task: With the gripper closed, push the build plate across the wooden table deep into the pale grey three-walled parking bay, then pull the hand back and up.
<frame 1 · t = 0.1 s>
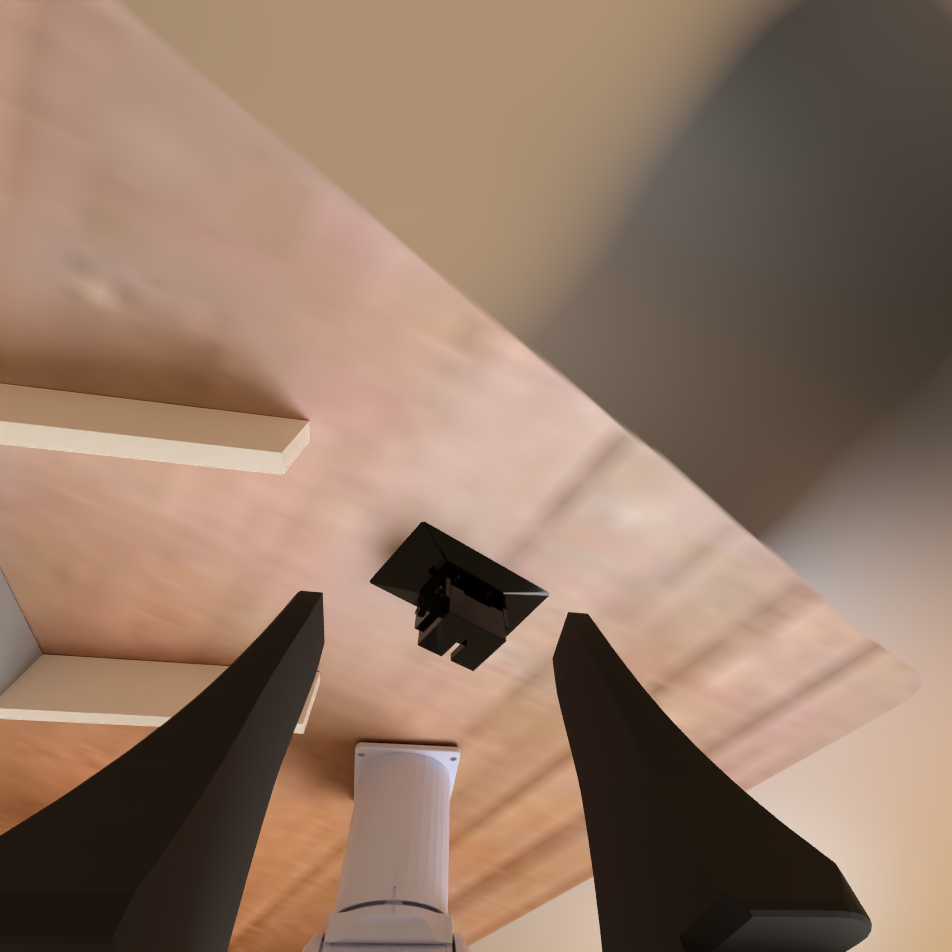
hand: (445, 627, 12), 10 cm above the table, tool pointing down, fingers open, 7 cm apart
parking bay: (158, 561, 23), on the table
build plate: (461, 579, 26), on the table
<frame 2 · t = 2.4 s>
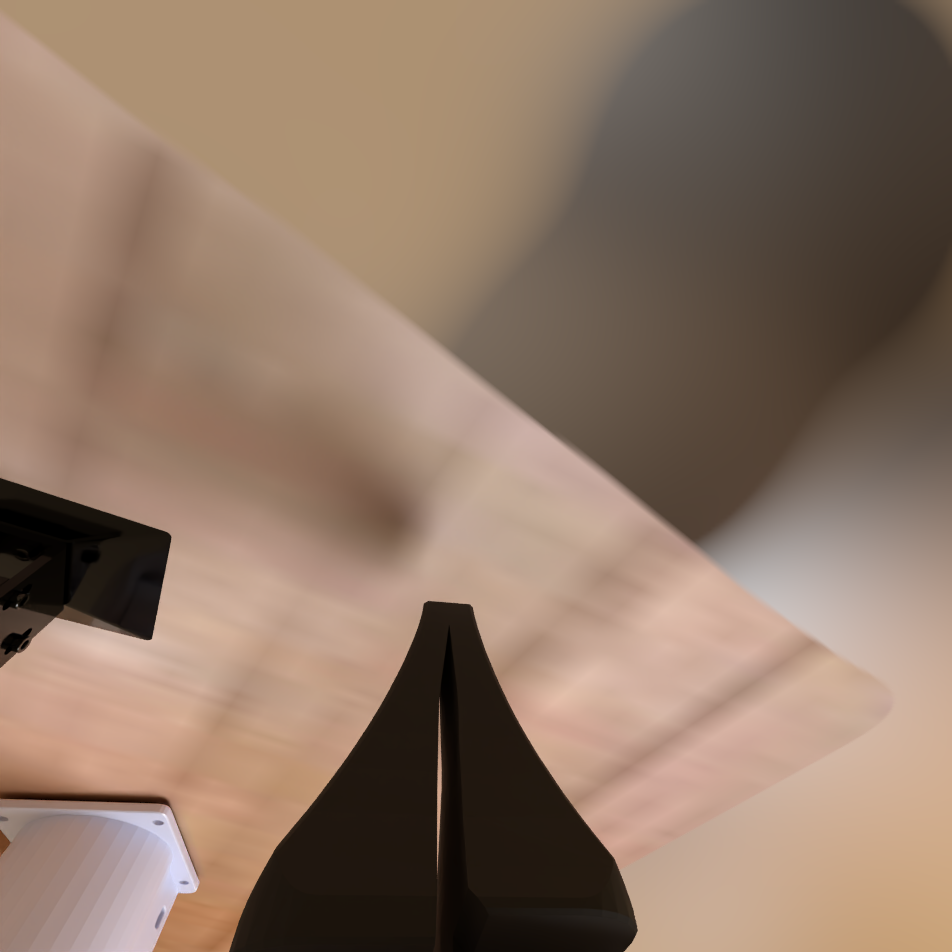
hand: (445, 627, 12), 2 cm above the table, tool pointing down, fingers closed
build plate: (26, 534, 14), on the table
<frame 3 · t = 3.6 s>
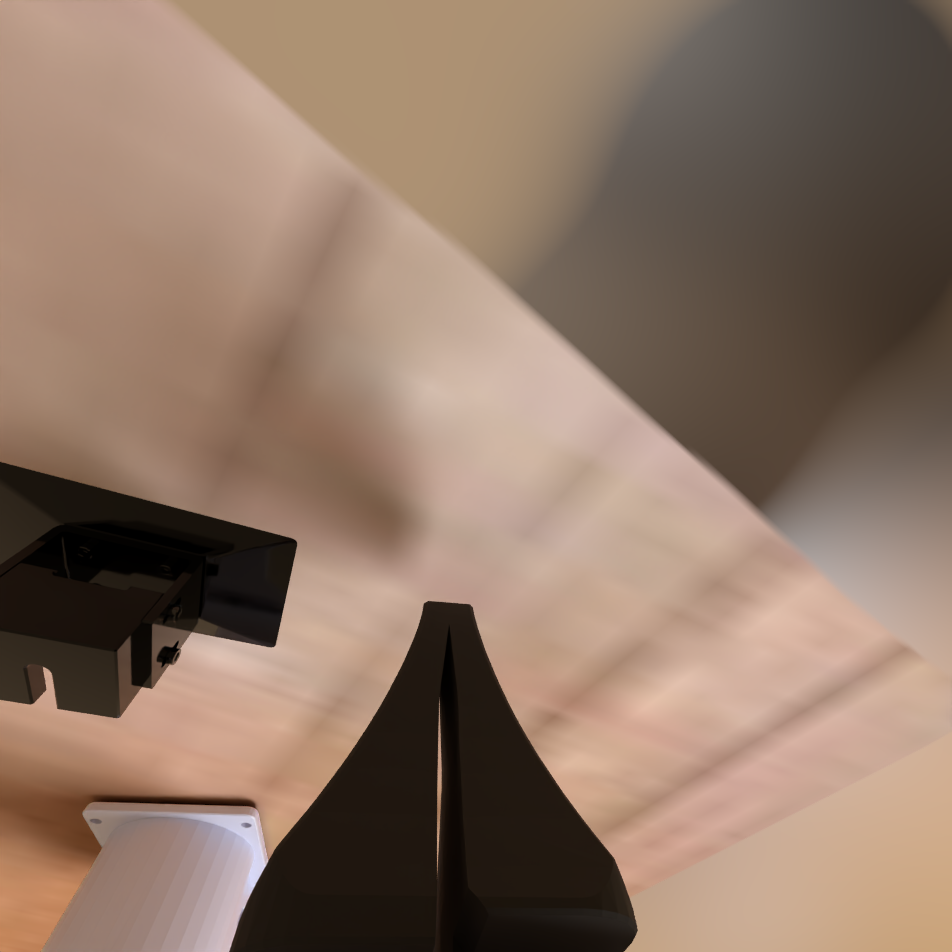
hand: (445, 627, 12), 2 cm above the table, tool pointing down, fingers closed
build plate: (157, 552, 15), on the table
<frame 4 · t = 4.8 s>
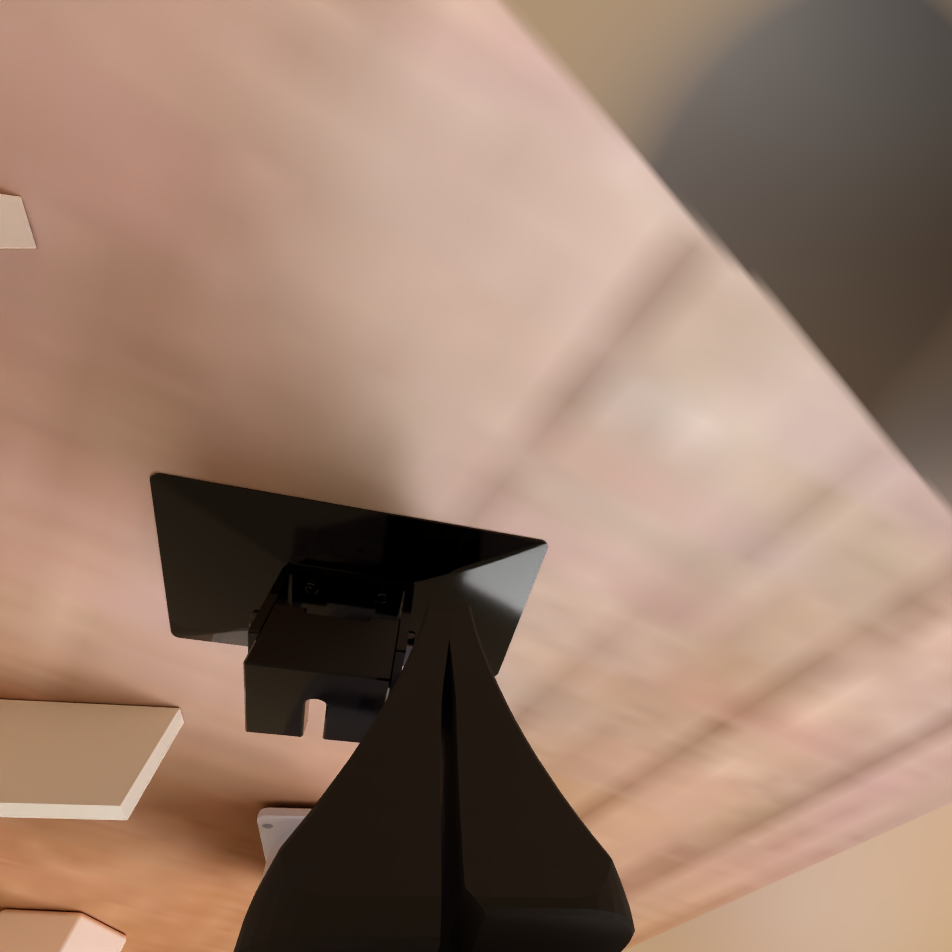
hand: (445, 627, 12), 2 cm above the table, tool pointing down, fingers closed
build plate: (354, 581, 15), on the table
jar: (58, 927, 28), on the table
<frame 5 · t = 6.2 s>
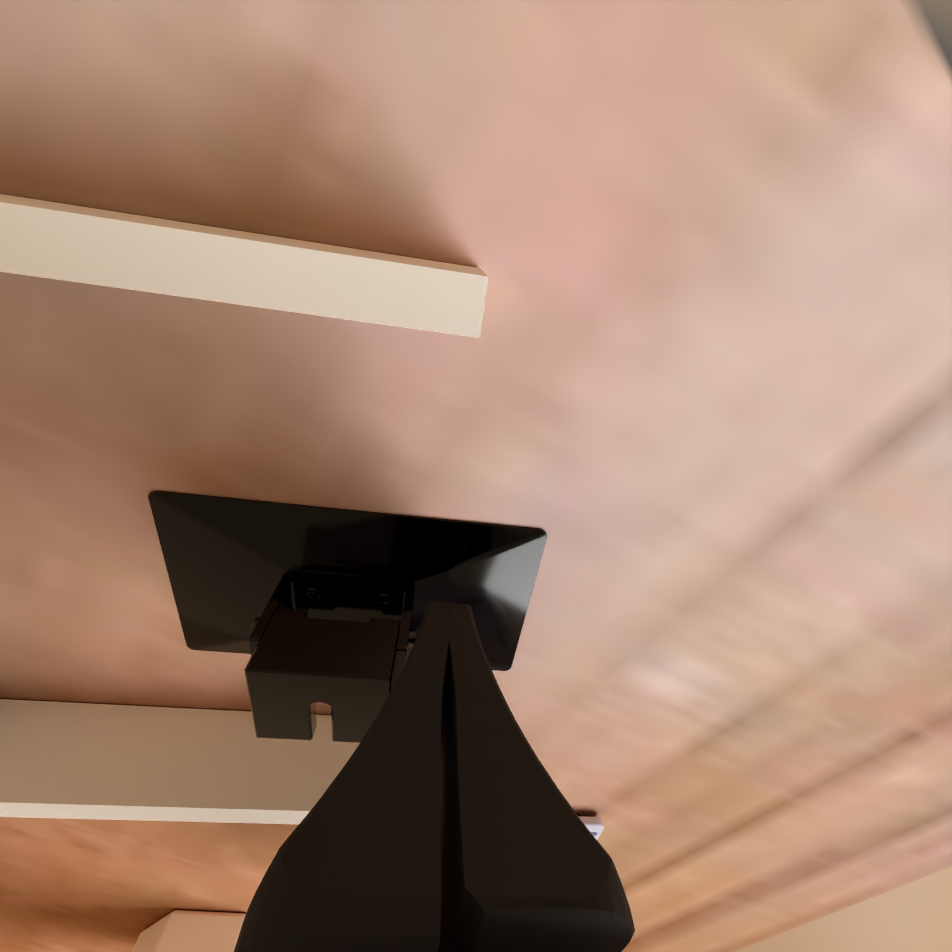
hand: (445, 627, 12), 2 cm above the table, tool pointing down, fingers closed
parking bay: (180, 549, 14), on the table
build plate: (358, 584, 15), on the table, touching gripper
jar: (213, 927, 29), on the table
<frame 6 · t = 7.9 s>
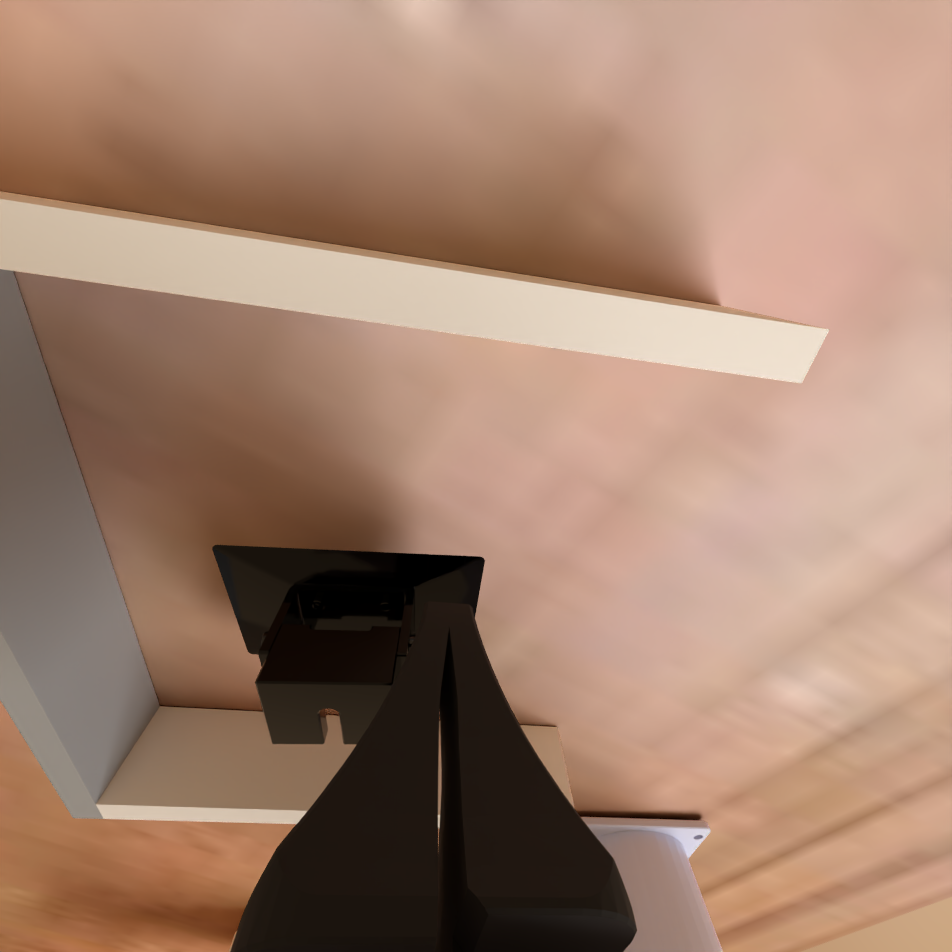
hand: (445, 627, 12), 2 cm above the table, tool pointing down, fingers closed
parking bay: (373, 565, 14), on the table
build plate: (362, 593, 16), on the table, touching gripper
jar: (303, 927, 30), on the table
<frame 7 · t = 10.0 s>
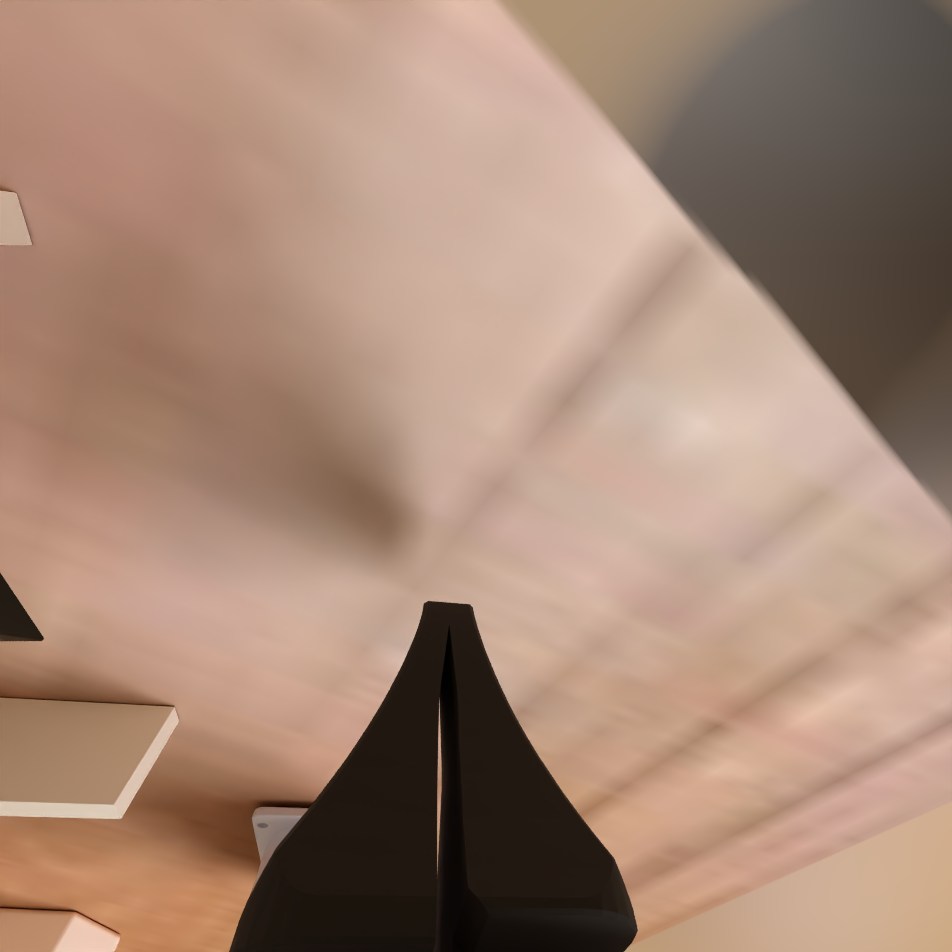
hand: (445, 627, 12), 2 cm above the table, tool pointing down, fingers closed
jar: (51, 926, 28), on the table
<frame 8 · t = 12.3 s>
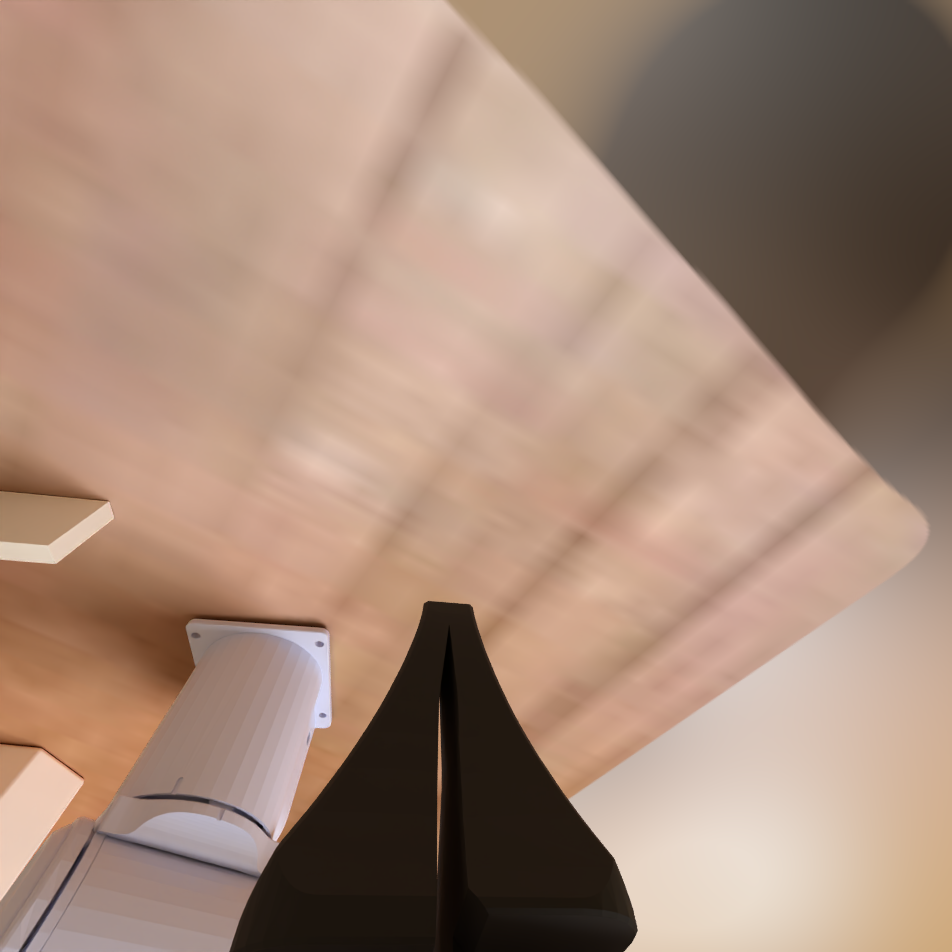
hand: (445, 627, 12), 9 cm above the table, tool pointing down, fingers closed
jar: (22, 769, 32), on the table
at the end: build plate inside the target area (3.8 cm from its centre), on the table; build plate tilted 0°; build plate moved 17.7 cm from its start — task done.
